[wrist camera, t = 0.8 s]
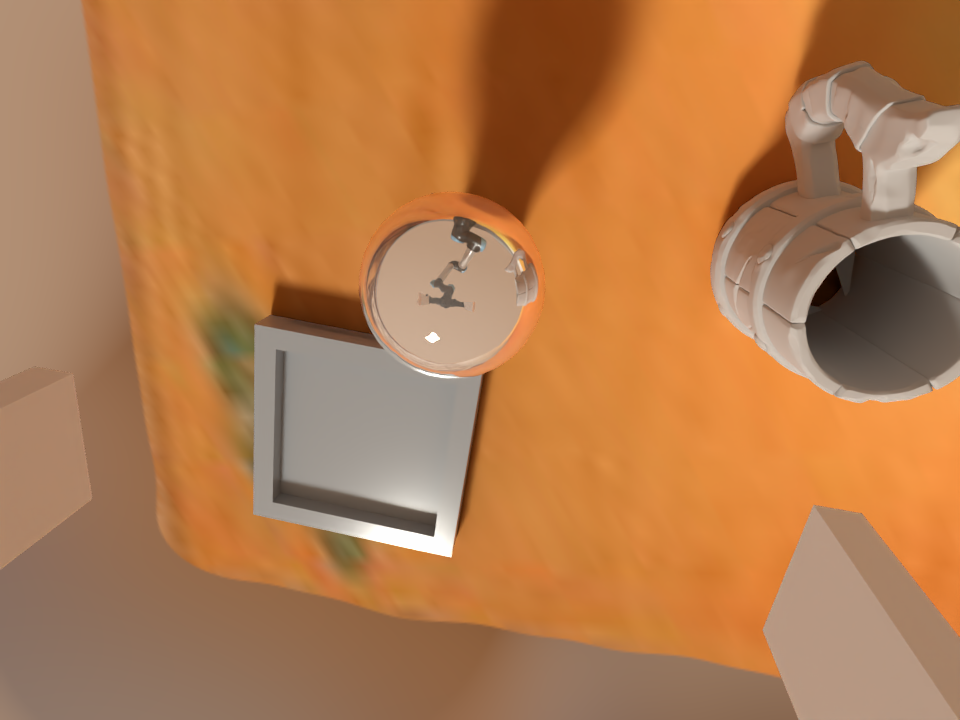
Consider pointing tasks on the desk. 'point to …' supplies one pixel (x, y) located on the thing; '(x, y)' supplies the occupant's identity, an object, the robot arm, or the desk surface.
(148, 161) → the desk surface
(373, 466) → the dish
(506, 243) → the light bulb
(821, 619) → the robot arm
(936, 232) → the mug
